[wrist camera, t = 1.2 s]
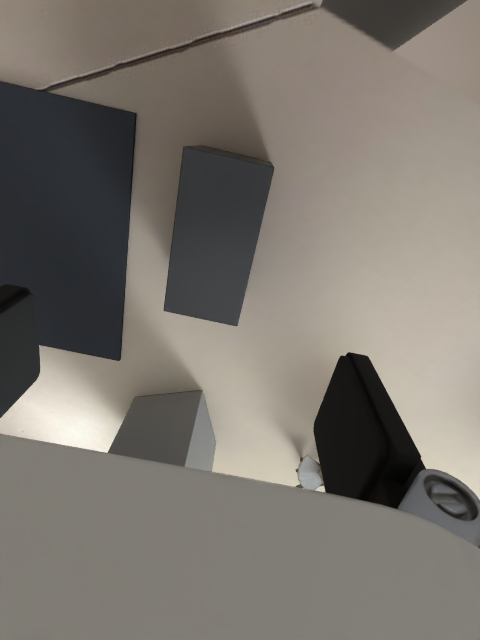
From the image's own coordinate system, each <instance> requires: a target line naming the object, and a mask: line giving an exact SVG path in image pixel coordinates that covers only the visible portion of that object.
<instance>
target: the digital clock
mask: <svg viewBox="0 0 480 640" xmlns="http://www.w3.org/2000/svg"><path fill="white" fill-rule="evenodd" d="M273 171H274V166H273V165H272V163H271V162H270V161H266V160H261V159H257V158H253V157H248V156H244V155H240V154H235V153H231V152H227V151H223V150H218V149H214V148H210V147H205V146H185V147H183V155H182V164H181V172H180V180H179V188H178V196H177V205H176V213H175V221H174V229H173V237H172V246H171V254H170V262H169V270H168V278H167V287H166V295H165V303H164V311H167V312H171V313H176V314H181V315H186V316H190V317H195V318H200V319H205V320H209V321H214V322H219V323H224V324H228V325H233V326H238V321H239V317H240V313H241V308H242V304H243V300H244V296H245V291H246V287H247V283H248V278H249V274H250V270H251V266H252V261H253V257H254V253H255V248H256V244H257V240H258V236H259V231H260V227H261V223H262V218H263V214H264V210H265V206H266V201H267V197H268V193H269V188H270V184H271V180H272V176H273Z"/></svg>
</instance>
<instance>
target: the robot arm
mask: <svg viewBox="0 0 480 640" xmlns="http://www.w3.org/2000/svg"><path fill="white" fill-rule="evenodd" d="M39 373H40V355H39V338H38V322H37V305H36V297H35V295H34V294H31V292H30V290H29V289H28V288H25V287H20V286H15V285H10V284H4V285H2V286H0V418H1V417H2V416H3V415H4V414H5V413H6V412H7V411H8V409H9V408H10V407H11V406H12V405H13V404H14V403H15V402H16V401H17V400H18V399H19V398H20V397H21V396H22V395H23V394H24V393H25V392H26V390H27V389H28V388H29V387H30V386H31V385H32V384H33V383H34V382H35V381H36V380H37V378H38V376H39ZM314 436H315V441H316V447H317V452H318V457H319V462H320V467H321V472H322V477H323V482H324V487H325V492H326V493H325V492H319V491H314V490H309V489H303V488H298V487H292V486H287V485H282V484H276V483H271V482H265V481H260V480H255V479H249V478H244V477H238V476H233V475H228V474H222V473H216V472H211V471H205V470H200V469H194V468H188V467H183V466H177V465H172V464H166V463H161V462H155V461H149V460H144V459H138V458H133V457H127V456H121V455H116V454H110V453H105V452H99V451H94V450H88V449H82V448H77V447H71V446H66V445H60V444H55V443H49V442H43V441H38V440H32V439H27V438H21V437H16V436H10V435H4V434H0V640H480V500H479V498H478V497H477V496H476V494H475V493H474V492H473V491H472V490H471V489H470V488H469V487H468V486H466V485H465V484H464V483H462V482H461V481H460V480H458V479H457V478H455V477H453V476H451V475H449V474H448V473H445V472H442V471H439V470H434V469H426V468H425V466H424V464H423V462H422V460H421V455H420V453H419V452H418V450H417V448H416V446H415V444H414V442H413V440H412V438H411V436H410V435H409V433H408V431H407V429H406V427H405V425H404V423H403V421H402V419H401V418H400V416H399V414H398V412H397V410H396V408H395V406H394V404H393V402H392V401H391V399H390V397H389V395H388V393H387V391H386V389H385V387H384V385H383V384H382V382H381V380H380V378H379V376H378V374H377V372H376V370H375V368H374V367H373V365H372V363H371V361H370V359H369V357H368V356H365V355H360V354H355V353H350V352H349V353H347V354H346V356H340V358H339V360H338V362H337V365H336V367H335V370H334V373H333V375H332V378H331V380H330V383H329V386H328V388H327V391H326V393H325V396H324V398H323V401H322V404H321V406H320V409H319V411H318V414H317V417H316V419H315V422H314Z"/></svg>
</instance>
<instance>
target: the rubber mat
mask: <svg viewBox="0 0 480 640" xmlns="http://www.w3.org/2000/svg"><path fill="white" fill-rule="evenodd" d="M135 126H136V113H132V112H128V111H124V110H119V109H115V108H111V107H107V106H102V105H98V104H94V103H90V102H85V101H81V100H77V99H73V98H68V97H64V96H60V95H56V94H51V93H47V92H43V91H39V90H34V89H30V88H26V87H22V86H17V85H13V84H9V83H4V82H0V286H2V285H4V284H10V285H15V286H20V287H25V288H28V289H29V290H30V292H31V294H34V295H35V297H36V305H37V322H38V338H39V345H42V346H47V347H52V348H57V349H62V350H67V351H72V352H77V353H82V354H87V355H92V356H97V357H102V358H107V359H112V360H117V361H120V359H121V344H122V328H123V313H124V297H125V282H126V266H127V251H128V235H129V220H130V204H131V189H132V173H133V158H134V142H135Z"/></svg>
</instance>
